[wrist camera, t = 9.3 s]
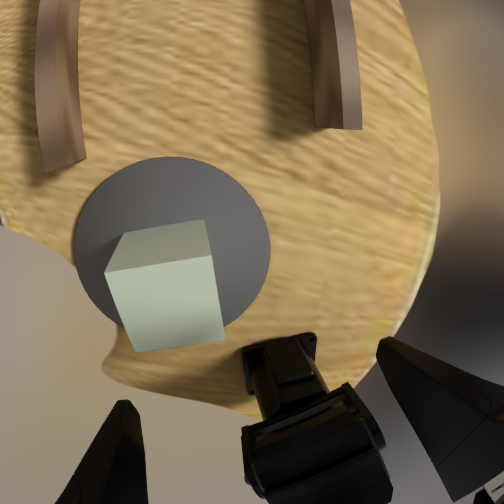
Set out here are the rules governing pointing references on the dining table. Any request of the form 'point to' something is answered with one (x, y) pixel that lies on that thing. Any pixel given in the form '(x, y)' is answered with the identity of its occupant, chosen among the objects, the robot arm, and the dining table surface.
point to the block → (166, 287)
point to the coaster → (171, 212)
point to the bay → (67, 90)
